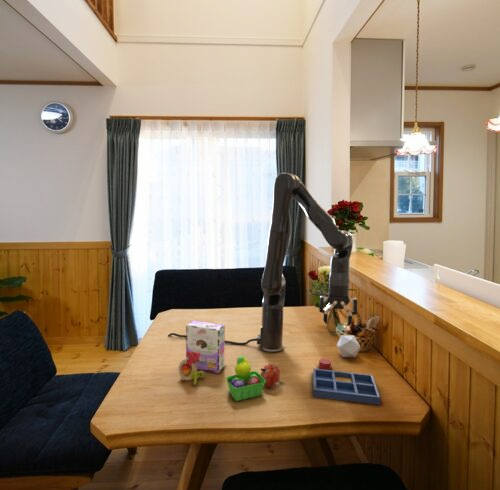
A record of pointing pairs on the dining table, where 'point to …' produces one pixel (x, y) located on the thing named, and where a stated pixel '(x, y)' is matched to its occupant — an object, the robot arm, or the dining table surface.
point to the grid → (345, 386)
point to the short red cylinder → (324, 364)
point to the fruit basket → (245, 381)
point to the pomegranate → (270, 375)
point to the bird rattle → (190, 367)
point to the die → (348, 346)
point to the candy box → (206, 344)
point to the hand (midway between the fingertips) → (337, 323)
